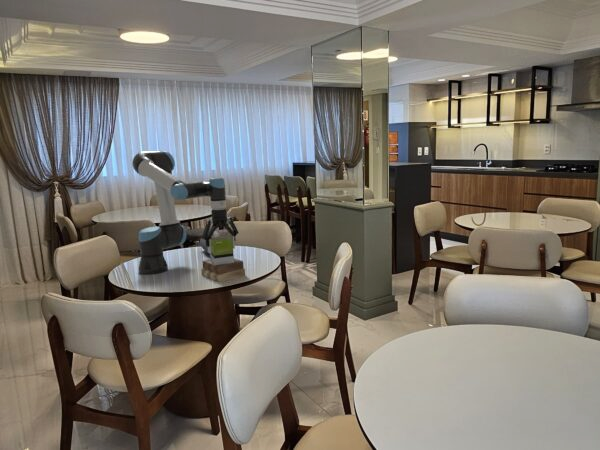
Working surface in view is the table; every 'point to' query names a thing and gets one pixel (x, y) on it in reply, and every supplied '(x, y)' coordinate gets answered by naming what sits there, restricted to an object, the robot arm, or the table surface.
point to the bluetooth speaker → (204, 245)
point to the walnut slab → (223, 266)
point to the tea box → (222, 247)
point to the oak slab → (223, 275)
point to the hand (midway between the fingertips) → (221, 250)
